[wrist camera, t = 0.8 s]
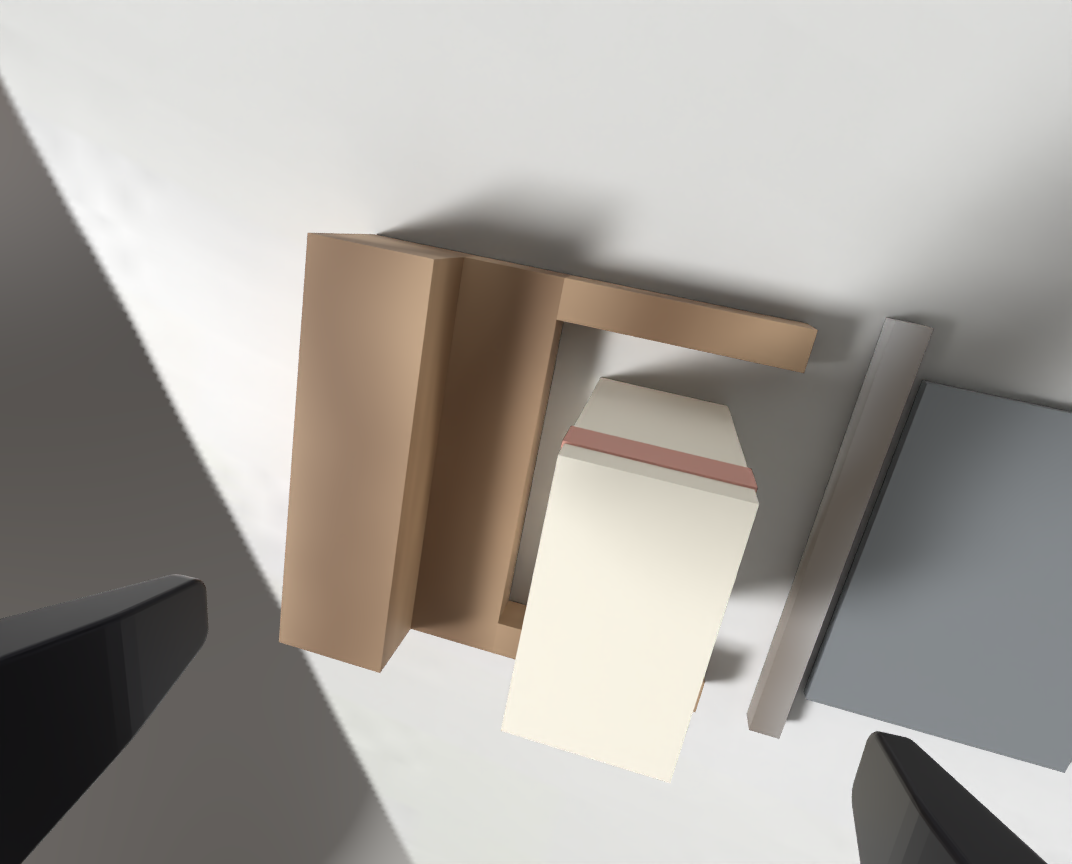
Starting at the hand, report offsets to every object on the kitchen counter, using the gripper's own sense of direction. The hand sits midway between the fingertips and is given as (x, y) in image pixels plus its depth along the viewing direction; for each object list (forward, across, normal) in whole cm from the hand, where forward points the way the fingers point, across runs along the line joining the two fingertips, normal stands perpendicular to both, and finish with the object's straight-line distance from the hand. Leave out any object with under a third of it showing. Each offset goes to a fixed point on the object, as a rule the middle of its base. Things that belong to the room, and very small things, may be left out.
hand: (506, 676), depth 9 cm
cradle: (+13, 0, +2) cm, 13 cm away
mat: (+13, -12, +3) cm, 18 cm away
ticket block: (+13, -1, +2) cm, 13 cm away
